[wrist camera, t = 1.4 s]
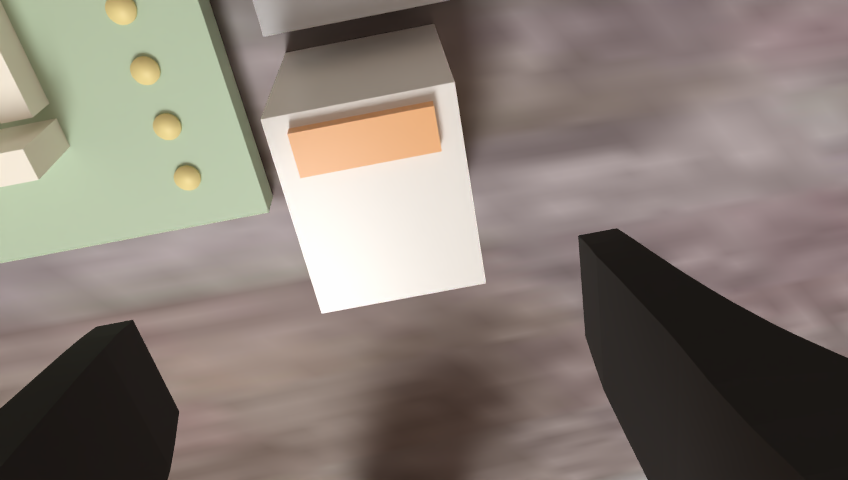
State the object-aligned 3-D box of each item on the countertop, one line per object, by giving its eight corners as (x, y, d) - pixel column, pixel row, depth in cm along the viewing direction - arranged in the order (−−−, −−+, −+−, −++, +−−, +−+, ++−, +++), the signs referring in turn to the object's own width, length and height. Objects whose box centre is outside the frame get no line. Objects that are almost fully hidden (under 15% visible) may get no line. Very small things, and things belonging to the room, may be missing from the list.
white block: (461, 189, 21) (487, 290, 16) (331, 214, 21) (320, 321, 16) (433, 23, 18) (456, 86, 14) (285, 51, 18) (258, 125, 14)
